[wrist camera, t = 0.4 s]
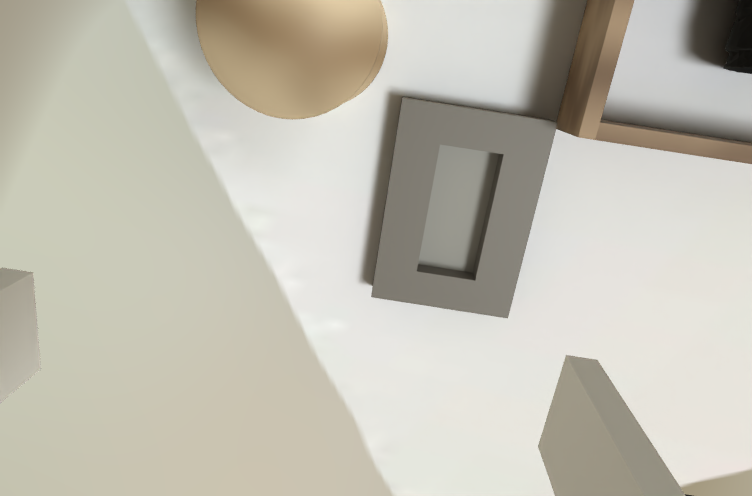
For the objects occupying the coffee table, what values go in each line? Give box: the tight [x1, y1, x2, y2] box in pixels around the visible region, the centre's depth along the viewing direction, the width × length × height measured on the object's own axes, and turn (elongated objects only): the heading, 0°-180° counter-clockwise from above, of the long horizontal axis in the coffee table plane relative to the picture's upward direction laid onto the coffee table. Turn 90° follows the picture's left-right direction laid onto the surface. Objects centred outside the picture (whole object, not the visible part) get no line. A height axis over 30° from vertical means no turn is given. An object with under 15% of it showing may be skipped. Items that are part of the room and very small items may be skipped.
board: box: [371, 97, 558, 318], centre depth 36 cm, size 14×10×2 cm
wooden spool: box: [196, 0, 388, 119], centre depth 30 cm, size 9×9×10 cm
